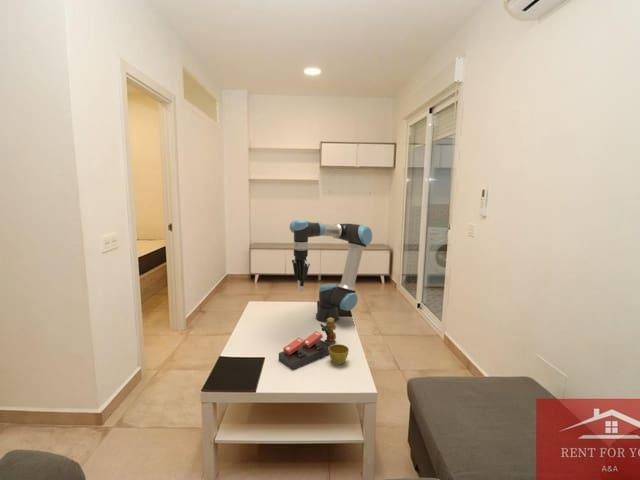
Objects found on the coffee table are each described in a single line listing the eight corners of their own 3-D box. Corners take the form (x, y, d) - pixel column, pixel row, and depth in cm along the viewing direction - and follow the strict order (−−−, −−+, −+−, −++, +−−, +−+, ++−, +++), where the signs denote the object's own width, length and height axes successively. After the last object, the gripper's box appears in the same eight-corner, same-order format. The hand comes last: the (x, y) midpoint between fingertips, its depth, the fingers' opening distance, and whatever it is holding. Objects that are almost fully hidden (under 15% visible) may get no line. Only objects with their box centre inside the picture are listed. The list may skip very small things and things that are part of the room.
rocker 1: (299, 340, 177) (298, 337, 176) (305, 344, 173) (304, 340, 172) (283, 351, 171) (283, 347, 170) (289, 355, 167) (288, 351, 166)
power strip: (317, 345, 188) (318, 335, 187) (332, 353, 179) (333, 343, 178) (278, 360, 171) (278, 350, 170) (293, 370, 162) (293, 359, 161)
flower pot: (328, 356, 175) (328, 343, 174) (347, 357, 175) (348, 344, 174) (327, 367, 165) (328, 353, 164) (348, 367, 165) (349, 354, 164)
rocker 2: (316, 334, 184) (315, 330, 184) (322, 337, 181) (322, 334, 180) (302, 344, 179) (301, 341, 178) (309, 348, 175) (308, 345, 174)
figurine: (338, 341, 193) (339, 316, 191) (333, 346, 186) (334, 320, 184) (323, 338, 197) (324, 313, 194) (318, 343, 190) (318, 317, 188)
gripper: (287, 248, 185) (287, 289, 189) (302, 251, 176) (302, 295, 180) (298, 246, 190) (298, 287, 194) (313, 250, 181) (313, 293, 185)
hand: (300, 291), depth 187 cm, fingers closed
